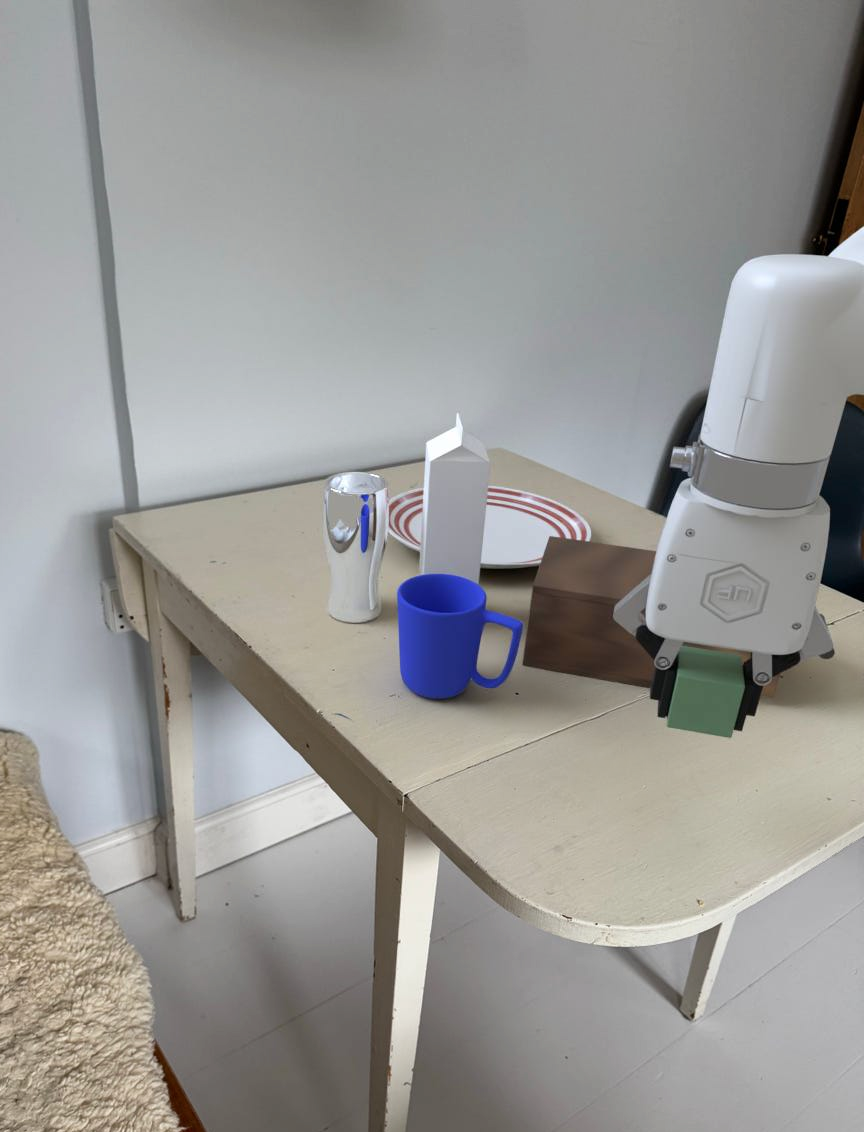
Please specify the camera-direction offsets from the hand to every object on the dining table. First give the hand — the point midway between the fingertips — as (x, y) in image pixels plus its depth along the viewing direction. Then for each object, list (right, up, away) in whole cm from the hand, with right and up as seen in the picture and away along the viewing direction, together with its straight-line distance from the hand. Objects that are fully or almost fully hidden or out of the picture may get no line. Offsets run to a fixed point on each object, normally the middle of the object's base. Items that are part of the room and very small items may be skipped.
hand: (699, 711), depth 63 cm
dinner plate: (-10, +18, +52) cm, 56 cm away
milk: (-16, +8, +34) cm, 38 cm away
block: (0, 0, 0) cm, 0 cm away
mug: (-16, 0, +21) cm, 26 cm away
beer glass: (-26, +8, +34) cm, 44 cm away
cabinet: (0, +4, +29) cm, 29 cm away
